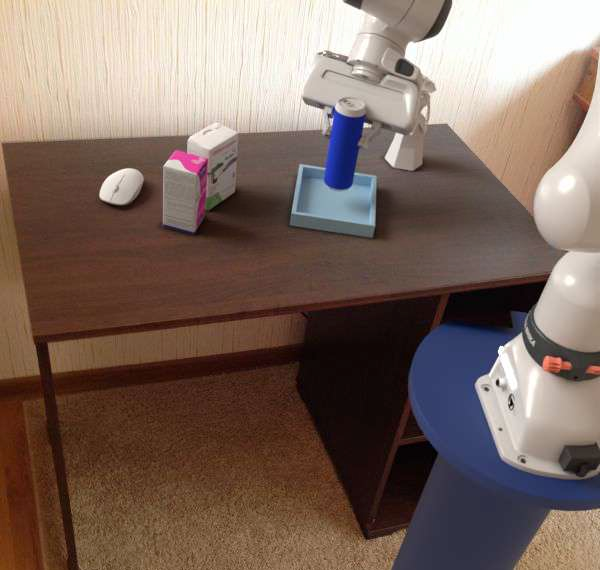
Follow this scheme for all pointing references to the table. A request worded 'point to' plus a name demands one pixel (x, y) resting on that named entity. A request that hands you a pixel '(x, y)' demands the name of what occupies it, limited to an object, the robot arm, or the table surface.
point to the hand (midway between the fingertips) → (344, 142)
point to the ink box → (217, 160)
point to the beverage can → (344, 143)
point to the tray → (334, 203)
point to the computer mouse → (121, 187)
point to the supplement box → (184, 191)
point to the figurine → (412, 135)
